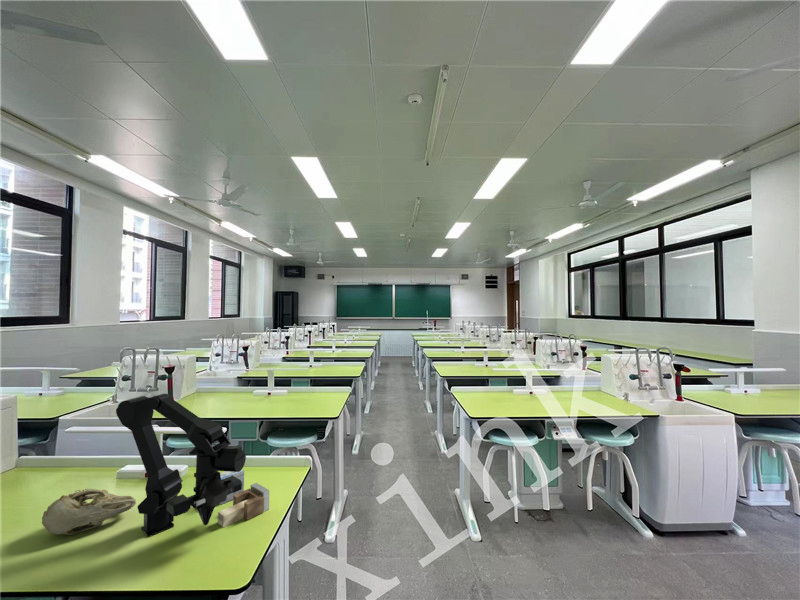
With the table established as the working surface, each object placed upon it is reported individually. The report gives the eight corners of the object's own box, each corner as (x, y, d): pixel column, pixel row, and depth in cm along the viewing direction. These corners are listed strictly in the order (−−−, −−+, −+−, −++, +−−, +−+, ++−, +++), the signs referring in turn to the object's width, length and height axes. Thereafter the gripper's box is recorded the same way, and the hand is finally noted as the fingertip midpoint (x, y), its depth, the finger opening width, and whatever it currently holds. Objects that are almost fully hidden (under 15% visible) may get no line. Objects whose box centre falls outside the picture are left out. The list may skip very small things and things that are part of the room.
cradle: (247, 519, 104) (247, 504, 104) (232, 509, 110) (233, 495, 110) (264, 511, 108) (264, 497, 109) (249, 502, 114) (249, 488, 114)
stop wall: (263, 512, 109) (263, 492, 109) (250, 503, 114) (250, 485, 114) (269, 509, 110) (269, 490, 111) (255, 501, 115) (256, 482, 116)
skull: (119, 514, 113) (139, 520, 105) (32, 539, 96) (48, 549, 89) (123, 477, 116) (143, 480, 108) (39, 495, 99) (55, 501, 91)
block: (223, 528, 101) (223, 516, 101) (217, 524, 103) (218, 512, 103) (255, 513, 109) (255, 501, 109) (249, 509, 111) (249, 498, 111)
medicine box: (238, 491, 122) (238, 466, 122) (244, 495, 119) (244, 470, 119) (214, 500, 116) (215, 474, 116) (220, 505, 113) (221, 478, 113)
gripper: (183, 490, 88) (181, 553, 87) (252, 465, 103) (251, 519, 102) (166, 478, 94) (164, 536, 94) (233, 456, 109) (232, 506, 109)
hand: (205, 524), depth 99 cm, fingers closed
